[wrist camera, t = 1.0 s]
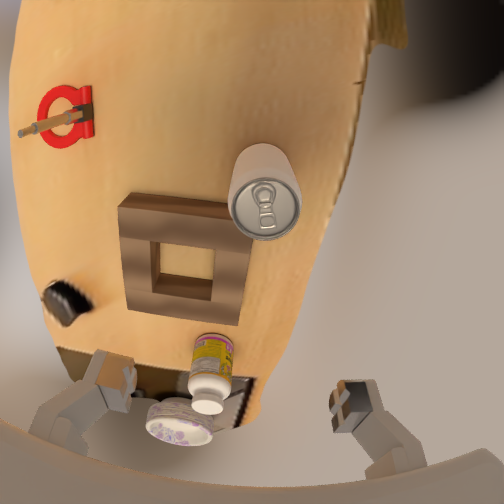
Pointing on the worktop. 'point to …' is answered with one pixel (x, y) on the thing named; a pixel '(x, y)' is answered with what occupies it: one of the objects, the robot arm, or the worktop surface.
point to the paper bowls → (179, 422)
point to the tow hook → (64, 117)
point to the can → (264, 193)
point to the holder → (187, 234)
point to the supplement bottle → (211, 373)
